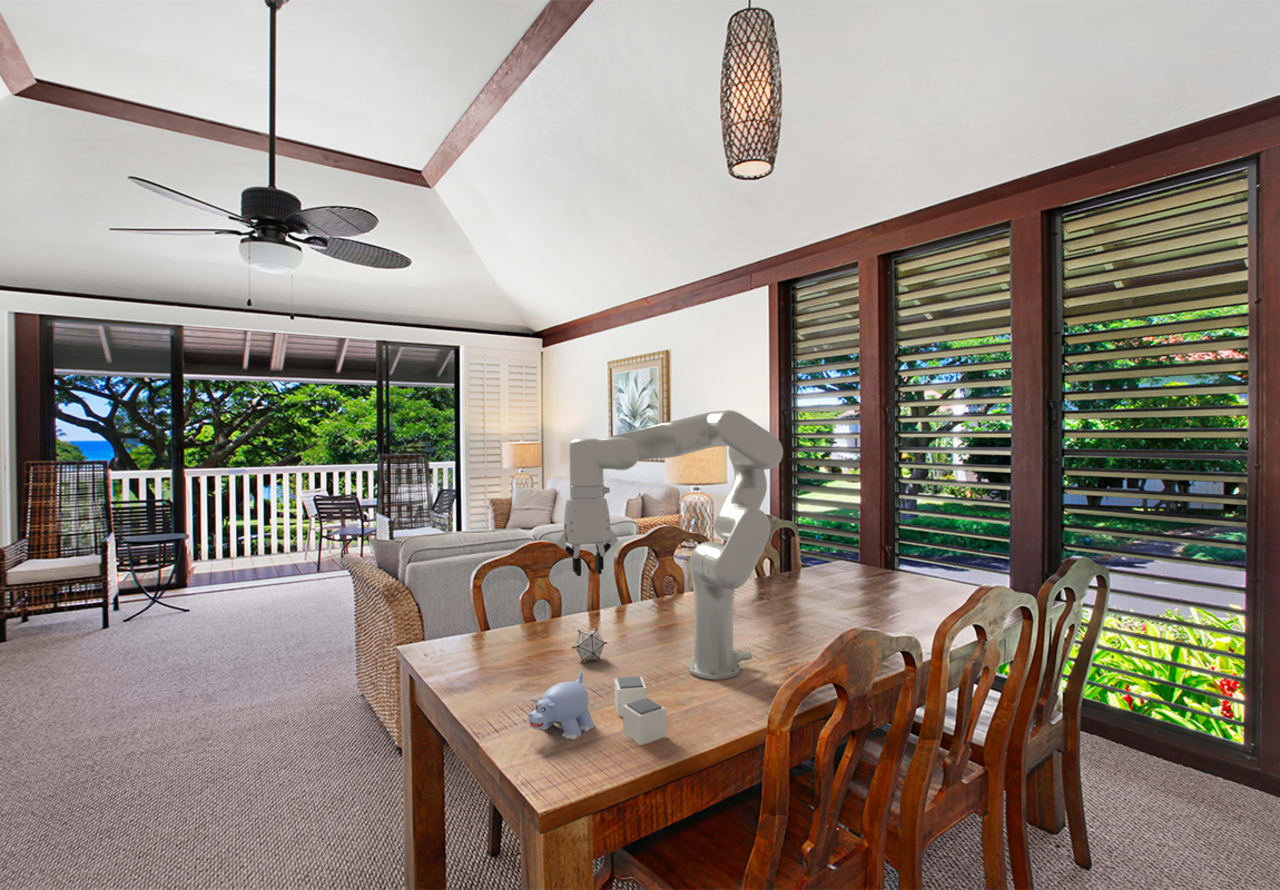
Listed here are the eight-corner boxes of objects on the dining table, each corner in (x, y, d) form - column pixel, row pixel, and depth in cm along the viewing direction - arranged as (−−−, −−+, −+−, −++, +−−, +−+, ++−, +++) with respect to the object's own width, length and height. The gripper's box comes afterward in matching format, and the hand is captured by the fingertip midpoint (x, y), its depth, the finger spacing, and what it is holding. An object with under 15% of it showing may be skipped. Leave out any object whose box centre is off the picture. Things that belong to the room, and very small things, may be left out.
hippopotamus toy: (513, 738, 121) (512, 689, 121) (563, 709, 133) (563, 665, 133) (555, 753, 115) (554, 702, 115) (604, 721, 127) (603, 675, 127)
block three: (642, 702, 136) (641, 675, 136) (646, 714, 130) (646, 685, 130) (614, 704, 135) (614, 677, 135) (618, 716, 129) (617, 688, 129)
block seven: (648, 725, 125) (648, 696, 125) (666, 737, 120) (665, 706, 120) (623, 733, 122) (622, 703, 122) (640, 746, 117) (640, 714, 117)
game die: (594, 676, 160) (600, 653, 154) (565, 663, 162) (569, 640, 156) (608, 650, 167) (613, 627, 162) (579, 637, 169) (584, 614, 163)
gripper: (617, 490, 147) (618, 567, 147) (547, 493, 141) (548, 573, 142) (627, 493, 140) (628, 574, 140) (553, 496, 134) (554, 581, 135)
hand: (588, 573), depth 141 cm, fingers open, 4 cm apart
